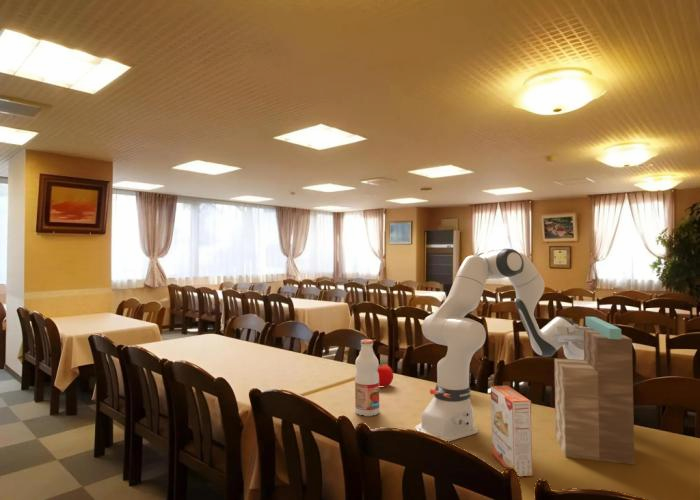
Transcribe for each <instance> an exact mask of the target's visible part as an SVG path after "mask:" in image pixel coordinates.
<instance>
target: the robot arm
mask: <svg viewBox="0 0 700 500" xmlns="http://www.w3.org/2000/svg"><path fill="white" fill-rule="evenodd" d="M505 278H508V280H509V281H510V283H511V285H512V286H513V288H514V292H515V303H514V304H515V308H516V310H517V311H516V312H517V314H518V316H519V318H520V320H521V323H522V325H523V328H524V329H525V331H526V332H525V333H526V334H527V336H528V337H527V338H528V340H529V343H530V344H529V345H530V347H531V348H532V350H533V352H534V353H536V354H537V355H538V356H539V357H540V356H541V357H543V358H549V357H553V356H554V354H556V352H558V350H559V349H561V347H562V348H563V355H564V356H565V357H566V358H565V359H576V360H584V330H593V329H591V328H590V327H588V326H579V324H578V323H575V322H574V321H573V320H572V319H570V318H568V317H565V316H556V317H554V318H553V319H551V321H549V322H547V324H546V325H544V326H543V327H542V328H541V329H540V327H539V324H538V323H537V319H536V317H535V309H536V306H537V304H538V302H539V301H540V299H541V298H542V296H543V294H544V292H545V287H546V285H545V281H544V278H543V277H542V275H541V274H540V272H539V271H538V269H537V267H536V266H535V265H534V263H533V262H532V261H531V260H530V259H529V257H528V256H526V254H524V253H522V252H518V250H516V249H513V248H503V249H492V250H489V251H486V252H481V253H479V254H472V255H468V256H467V257H465V258H464V259H463V260H462V262H461V265H460V266H459V268H458V270H457V272H456V275H455V277H454V280H453V283H452V285H451V288H450V290H449V293H448V295H447V297H446V299H445V300H444V301H443V302H442V304H441V305H440V306H439V307H438V309H436V311H434V312H433V313H431V314H430V315H428V316H426V317H425V318H424V320H423V322H422V325H421V331H422V334H423V336H424V338H426V339H427V340H428V341H430V342H432V343H434V344H437V345H442V346H446V347H447V352H446V354H445V356H444V357H442V358H441V359H440V360H439V361H438V362H437V364H436V372H437V373H436V377H437V378H436V379H437V382H436V384H435V388H433V387H431V388H430V389H429V394H430V395H433V398H432V399H431V400H430V402H429V404H427V406H426V407H425V408H424V410H423V411H422V414H421V422H420V423H417V424H416V425H415V426H414V431H415V430H417V431H421V432H424V433H427V434H430V435H433V436H436V437H439V438H441V439H444V440H446V441H448V442H452V441H455V440H458V439H462V438H465V437H469V436H471V435H472V436H473V435H475V434H478V428H477V427H476V426H475V415H474V408H473V405H472V403H471V399H470V398H471V394H472V392H471V386H470V363H471V361H472V358H473V356H474V354H475V353H476V352H477V351H478V350H480V349H481V348H482V347H483V345H484V344H485V342H486V339H487V338H486V337H487V332H486V329H485V327H484V325H483V324H482V323H480V322H479V321H476V320H475V319H471V318H469V317H465V316H467V314H469V313H471V312H472V311H474V310H476V309H477V308H478V306H479V304H480V302H481V299H482V295H483V292H484V290H485V287H486V284H487V280H489V279H490V280H491V279H492V280H494V279H496V280H500V279H505ZM448 442H447V443H448Z"/></svg>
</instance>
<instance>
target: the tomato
mask: <svg viewBox="0 0 700 500" xmlns="http://www.w3.org/2000/svg"><path fill="white" fill-rule="evenodd" d="M377 371H378V374H379V386H387V387H389V386H390V385H391V384H392V382H393V380H394V371H393V369H392V367H390V365H387V363H386V364H384V363H383V364H382V363H381V364H379V365H378V370H377ZM388 385H389V386H388Z"/></svg>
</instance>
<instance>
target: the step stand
mask: <svg viewBox="0 0 700 500" xmlns="http://www.w3.org/2000/svg"><path fill="white" fill-rule="evenodd" d="M553 359H554V361H553V363H554V401H555V402H554V412H555V413H554V415H555V418H554V419H555V421H554V422H555V438H556V440H557V443H558V444H559V446H560V448H561V450H562V452H563V454H564V456H565V458H572V459H580V460H590V461H601V462H607V463H608V462H609V463H618V464H619V463H620V464H625V465H626V464H627V465H635V426H634V425H635V423H634V421H635V419H634V418H635V417H634V376H633V375H634V373H633V372H634V371H633V370H634V369H633V368H634V367H633V339H632V338H630V337H628V336H626V335H625V334H622V333H621V339H609V338H607V337H605V336H604V335H602V334H600V333H598V332H597V331H595V330H584V360H576V359H568V358H553Z"/></svg>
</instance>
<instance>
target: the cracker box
mask: <svg viewBox="0 0 700 500" xmlns="http://www.w3.org/2000/svg"><path fill="white" fill-rule="evenodd" d="M490 404H491V406H490V409H491V410H490V414H491V453H492V455H493V456H494V457H495V459H497V460H498V461H499V463H500V464H501V465H502V466H503V467H504V468H505V467H513V468H514V469H515V470H516V472H517V473H518V476H519V477H518V478H524V477H523V476H526V477H533V476H534V475H533V474H534V473H533V472H534V471H533V467H534V466H533V433H532V432H533V431H532V429H533V428H532V427H533V426H532V422H533V421H532V401H531V400H530V399H528V398H527V397H526V396H524V395H522V394H521V393H520V392H518V391H516V390H515V389H514V388H512V387H510V386H509V385H493V386H490Z"/></svg>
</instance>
